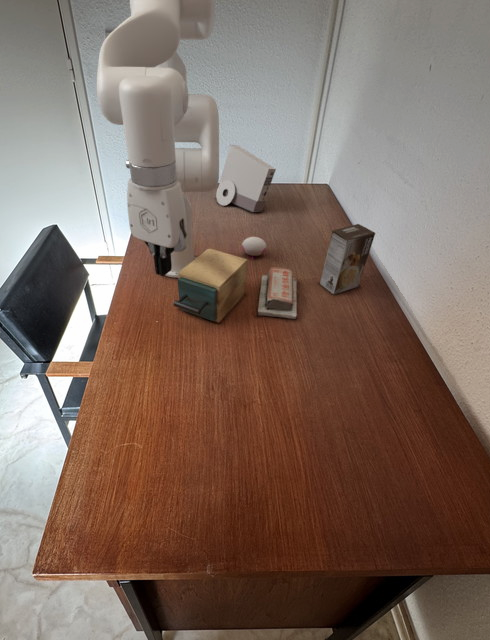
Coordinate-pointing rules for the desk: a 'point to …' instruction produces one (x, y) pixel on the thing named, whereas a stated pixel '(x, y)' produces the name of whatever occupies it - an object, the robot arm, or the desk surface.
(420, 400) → the desk surface
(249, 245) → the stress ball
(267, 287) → the packaged product
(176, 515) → the desk surface
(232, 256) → the cabinet
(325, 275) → the coffee box
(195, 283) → the drawer
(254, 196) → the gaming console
